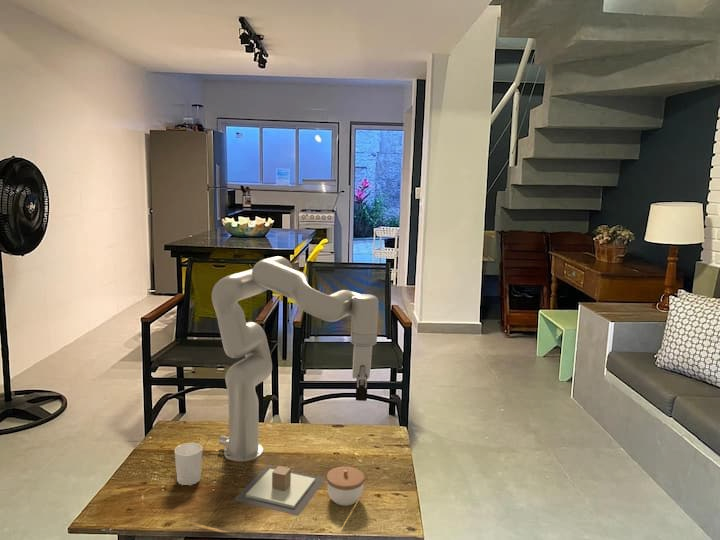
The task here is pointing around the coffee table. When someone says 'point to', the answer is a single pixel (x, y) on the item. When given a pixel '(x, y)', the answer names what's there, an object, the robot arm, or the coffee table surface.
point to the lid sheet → (281, 495)
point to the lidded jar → (345, 485)
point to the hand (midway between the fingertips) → (361, 393)
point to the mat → (295, 511)
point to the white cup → (188, 463)
